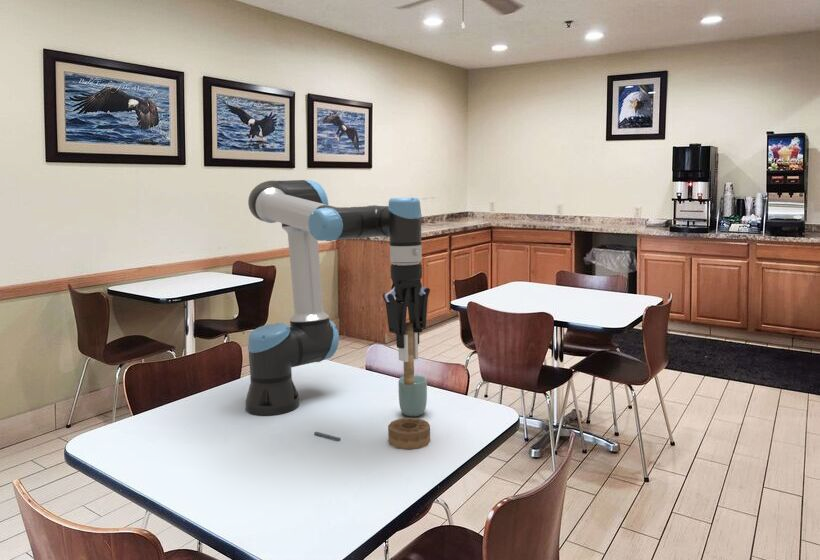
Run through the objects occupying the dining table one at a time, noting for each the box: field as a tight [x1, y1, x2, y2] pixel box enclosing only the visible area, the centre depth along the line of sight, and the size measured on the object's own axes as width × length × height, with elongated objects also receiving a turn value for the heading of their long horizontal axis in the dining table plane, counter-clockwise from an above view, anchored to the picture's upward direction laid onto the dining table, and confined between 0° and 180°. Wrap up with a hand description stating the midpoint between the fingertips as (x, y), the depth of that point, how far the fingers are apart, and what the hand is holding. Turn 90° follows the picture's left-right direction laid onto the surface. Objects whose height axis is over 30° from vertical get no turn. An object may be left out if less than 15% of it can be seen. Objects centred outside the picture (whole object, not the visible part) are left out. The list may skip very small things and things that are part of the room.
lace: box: [313, 431, 341, 442], centre depth 158 cm, size 8×1×1 cm, turn 57°
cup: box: [397, 374, 428, 418], centre depth 172 cm, size 8×8×10 cm
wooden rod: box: [403, 321, 415, 385], centre depth 151 cm, size 2×2×15 cm
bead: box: [387, 417, 431, 450], centre depth 154 cm, size 10×10×4 cm
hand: (408, 359), depth 151 cm, fingers closed on wooden rod, 2 cm apart
